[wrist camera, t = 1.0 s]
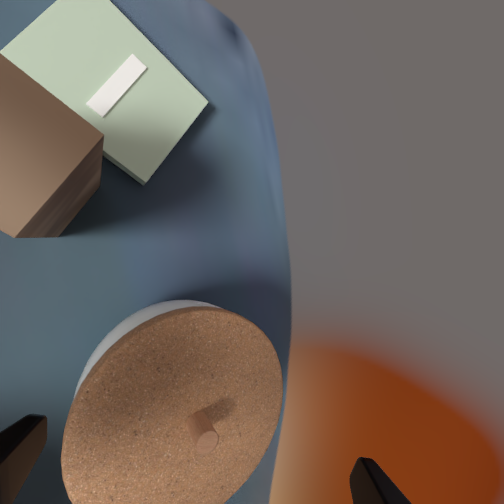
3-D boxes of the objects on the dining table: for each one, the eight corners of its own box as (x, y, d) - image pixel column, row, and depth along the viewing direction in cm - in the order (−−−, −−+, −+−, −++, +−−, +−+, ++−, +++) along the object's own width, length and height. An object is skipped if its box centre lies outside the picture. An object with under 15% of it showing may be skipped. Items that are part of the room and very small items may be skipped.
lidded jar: (109, 266, 18) (122, 292, 10) (244, 303, 23) (325, 339, 15) (46, 434, 16) (-2, 626, 8) (204, 432, 22) (268, 549, 14)
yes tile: (143, 185, 18) (146, 182, 17) (-5, 75, 14) (-14, 60, 13) (202, 108, 20) (209, 101, 19) (85, -9, 16) (85, -28, 15)
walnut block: (57, 237, 16) (14, 237, 8) (-41, 181, 14) (-260, 93, 5) (99, 186, 17) (104, 134, 9) (14, 126, 15) (-98, -24, 6)
